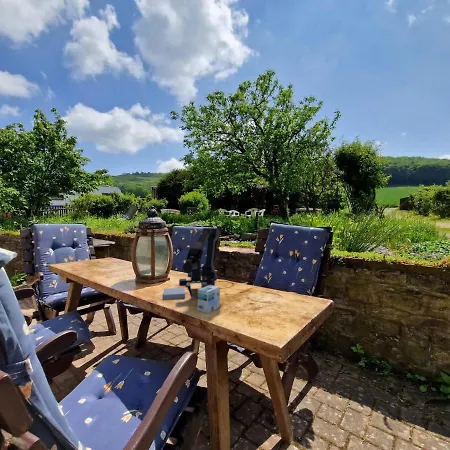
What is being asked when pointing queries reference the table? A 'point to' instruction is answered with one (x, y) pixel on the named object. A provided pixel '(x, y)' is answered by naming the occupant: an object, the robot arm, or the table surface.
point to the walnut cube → (194, 294)
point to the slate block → (174, 293)
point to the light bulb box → (208, 298)
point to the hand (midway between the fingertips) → (195, 296)
